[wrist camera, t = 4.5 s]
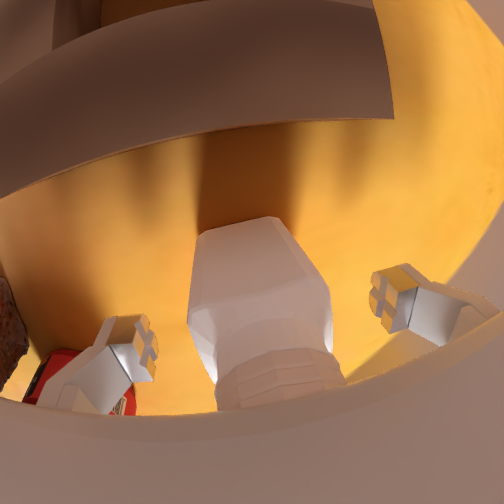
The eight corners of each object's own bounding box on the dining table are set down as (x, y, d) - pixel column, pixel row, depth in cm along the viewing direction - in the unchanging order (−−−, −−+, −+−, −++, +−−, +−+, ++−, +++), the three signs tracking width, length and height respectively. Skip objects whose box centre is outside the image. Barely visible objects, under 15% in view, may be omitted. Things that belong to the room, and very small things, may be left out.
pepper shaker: (290, 282, 14) (369, 449, 5) (214, 300, 14) (228, 485, 5) (278, 209, 12) (400, 367, 4) (192, 229, 12) (166, 427, 4)
